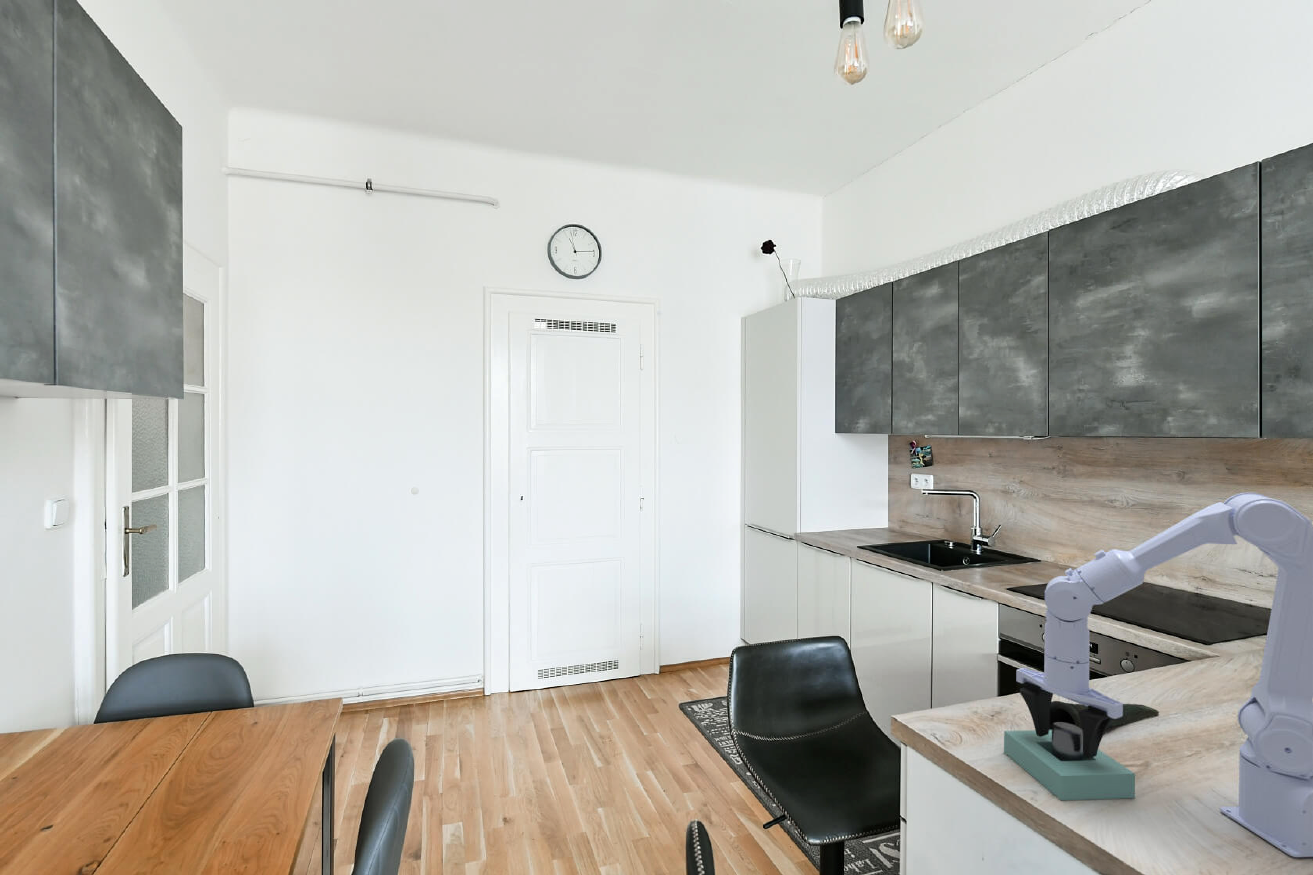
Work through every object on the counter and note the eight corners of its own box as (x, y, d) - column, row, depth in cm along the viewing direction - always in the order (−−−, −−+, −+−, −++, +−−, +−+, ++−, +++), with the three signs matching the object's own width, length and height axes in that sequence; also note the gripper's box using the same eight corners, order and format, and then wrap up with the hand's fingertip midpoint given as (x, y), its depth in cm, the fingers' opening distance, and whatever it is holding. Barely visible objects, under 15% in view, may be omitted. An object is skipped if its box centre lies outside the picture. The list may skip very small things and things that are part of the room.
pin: (1088, 777, 93) (1089, 731, 93) (1071, 783, 91) (1071, 736, 91) (1062, 764, 97) (1063, 720, 96) (1045, 769, 95) (1045, 724, 95)
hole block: (1134, 797, 88) (1135, 773, 88) (1060, 800, 87) (1061, 775, 87) (1068, 750, 101) (1068, 729, 101) (1004, 752, 100) (1004, 730, 100)
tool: (1075, 752, 101) (1076, 712, 101) (1039, 733, 107) (1039, 695, 107) (1184, 726, 110) (1185, 689, 110) (1145, 710, 116) (1146, 675, 116)
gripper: (1135, 668, 89) (1133, 761, 89) (1035, 638, 102) (1034, 719, 102) (1107, 677, 86) (1106, 773, 86) (1008, 644, 99) (1007, 728, 99)
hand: (1065, 744), depth 94 cm, fingers open, 6 cm apart
